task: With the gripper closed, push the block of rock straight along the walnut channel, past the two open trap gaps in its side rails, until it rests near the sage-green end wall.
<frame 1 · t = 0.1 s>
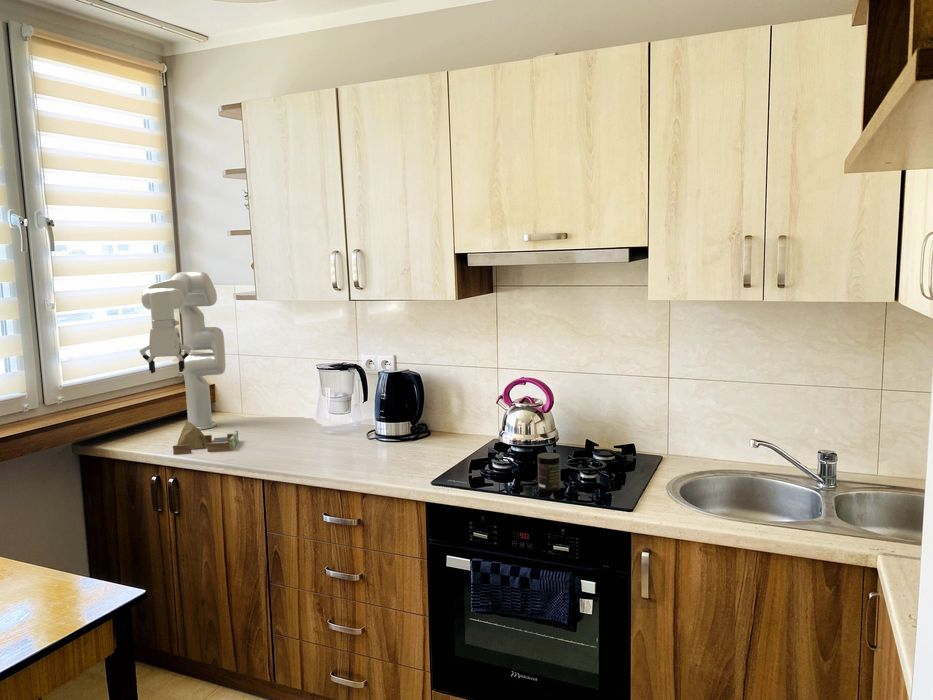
hand: (167, 372, 255), 31 cm above the worktop, tool pointing down, fingers open, 9 cm apart
rock: (193, 448, 270), on the worktop
supplement container: (549, 489, 214), on the worktop
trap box: (205, 447, 270), on the worktop
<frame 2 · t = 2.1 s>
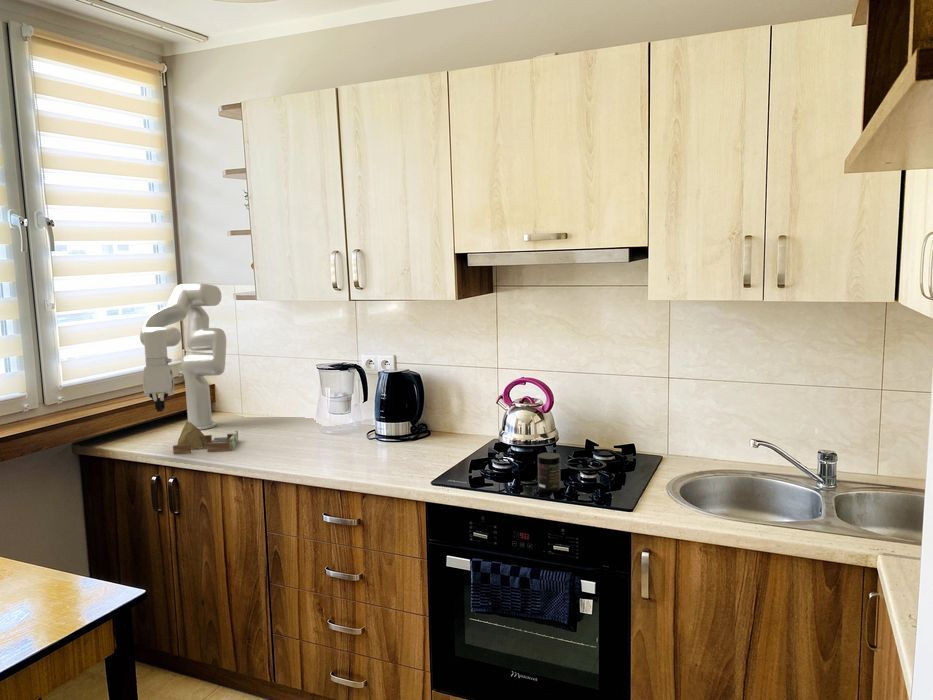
hand: (160, 410, 265), 15 cm above the worktop, tool pointing down, fingers closed
nothing on the worktop moved.
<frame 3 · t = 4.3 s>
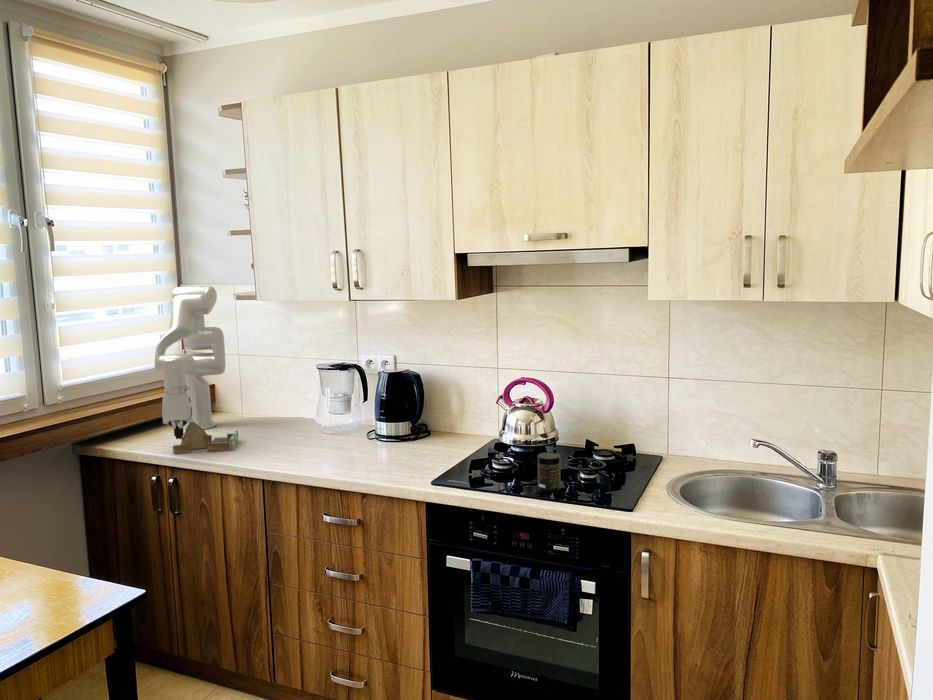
hand: (179, 438, 268), 4 cm above the worktop, tool pointing down, fingers closed
rock: (197, 448, 270), on the worktop, touching gripper
everything else where it was.
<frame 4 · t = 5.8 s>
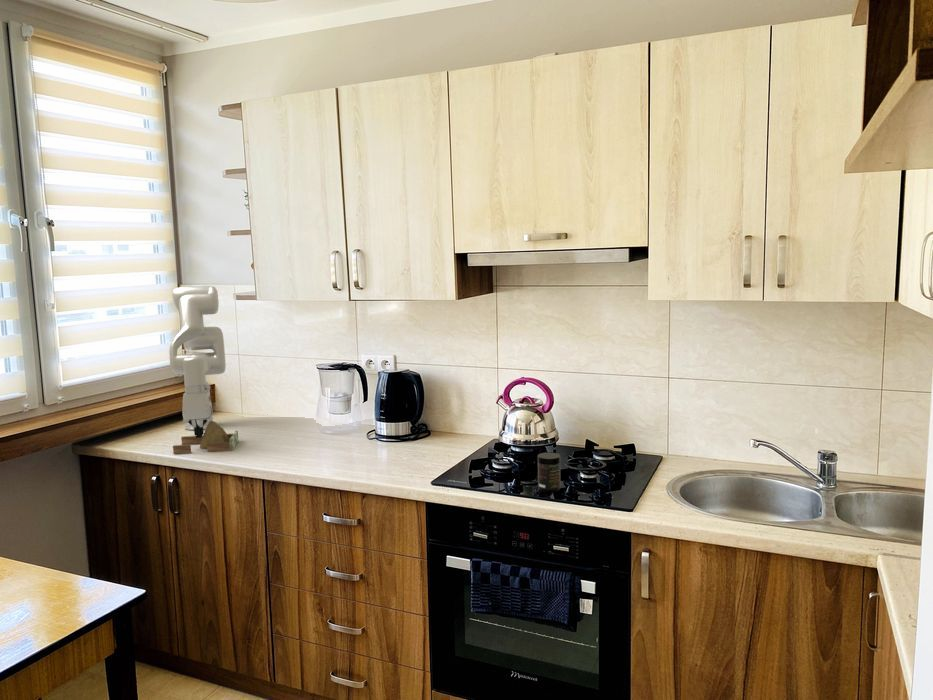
hand: (199, 436, 269), 4 cm above the worktop, tool pointing down, fingers closed
rock: (216, 447, 270), on the worktop
everything else where it was.
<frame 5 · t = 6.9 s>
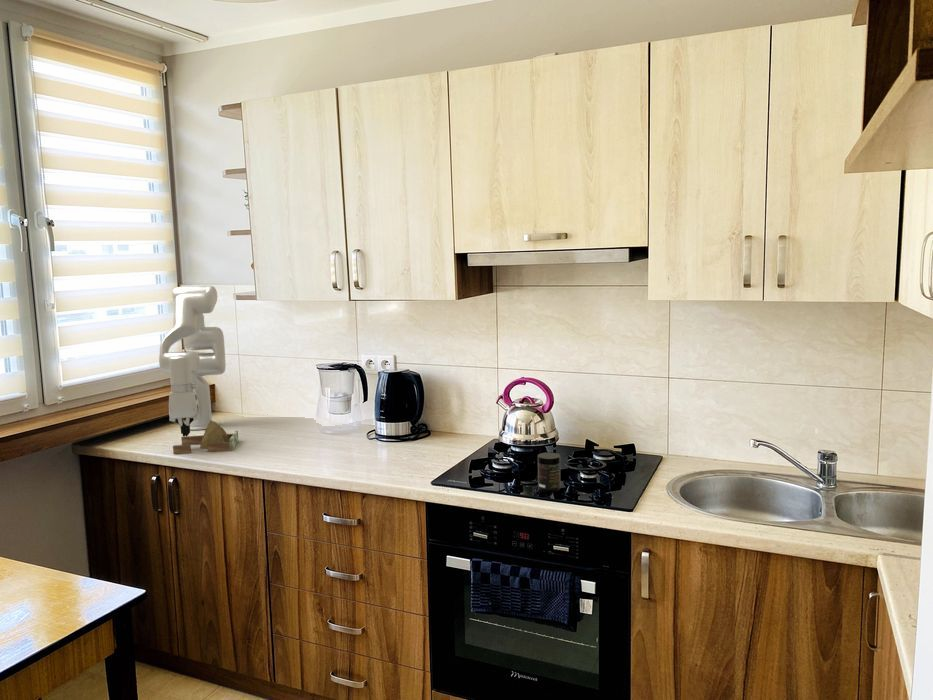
hand: (185, 435, 269), 5 cm above the worktop, tool pointing down, fingers closed
nothing on the worktop moved.
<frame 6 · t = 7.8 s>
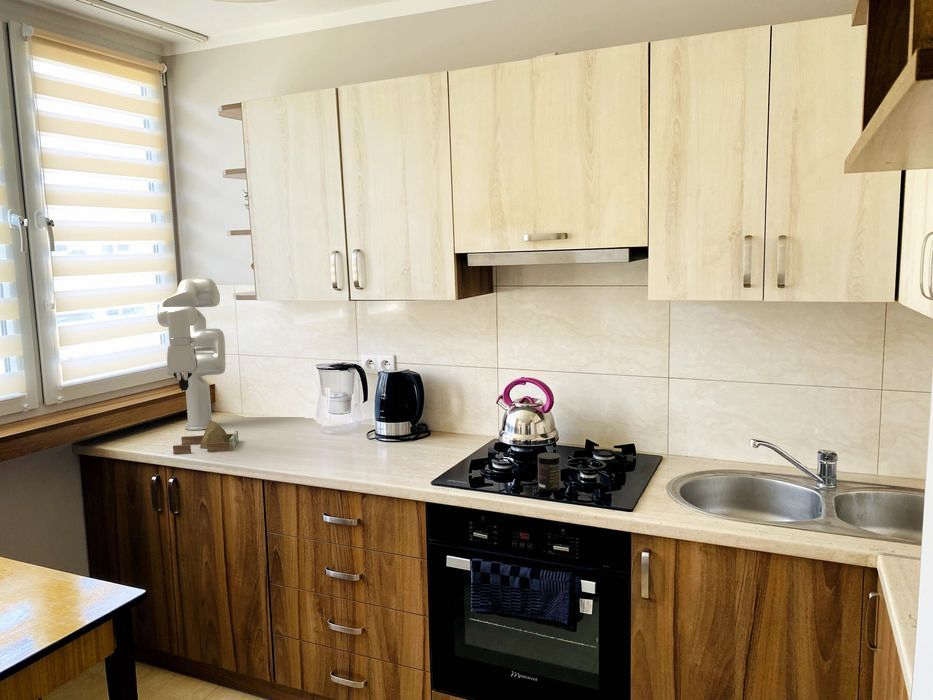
hand: (184, 390, 267), 22 cm above the worktop, tool pointing down, fingers closed
nothing on the worktop moved.
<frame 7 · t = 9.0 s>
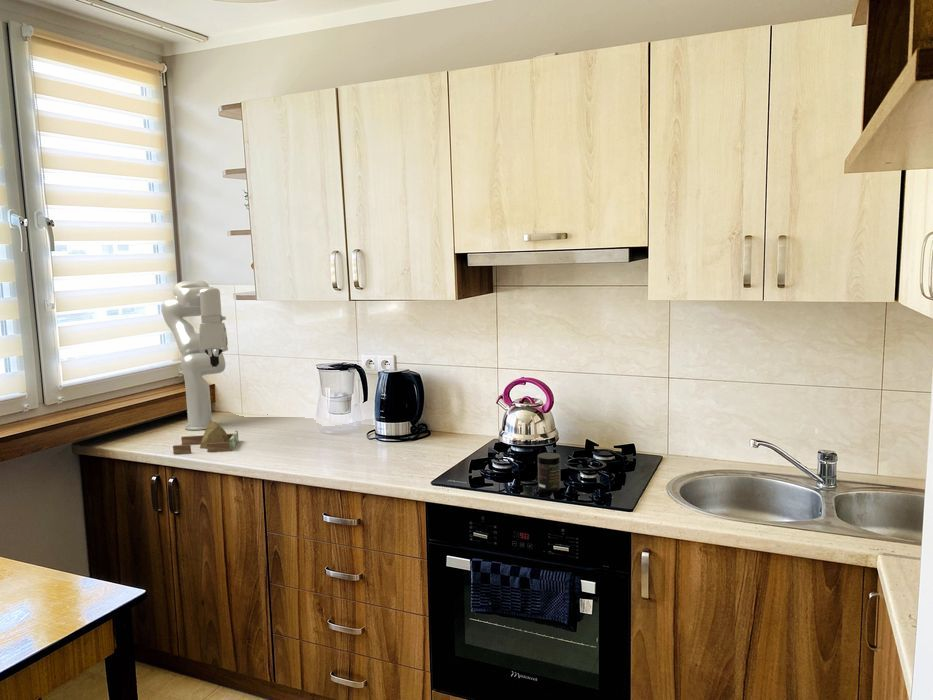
hand: (215, 366, 280), 29 cm above the worktop, tool pointing down, fingers closed
nothing on the worktop moved.
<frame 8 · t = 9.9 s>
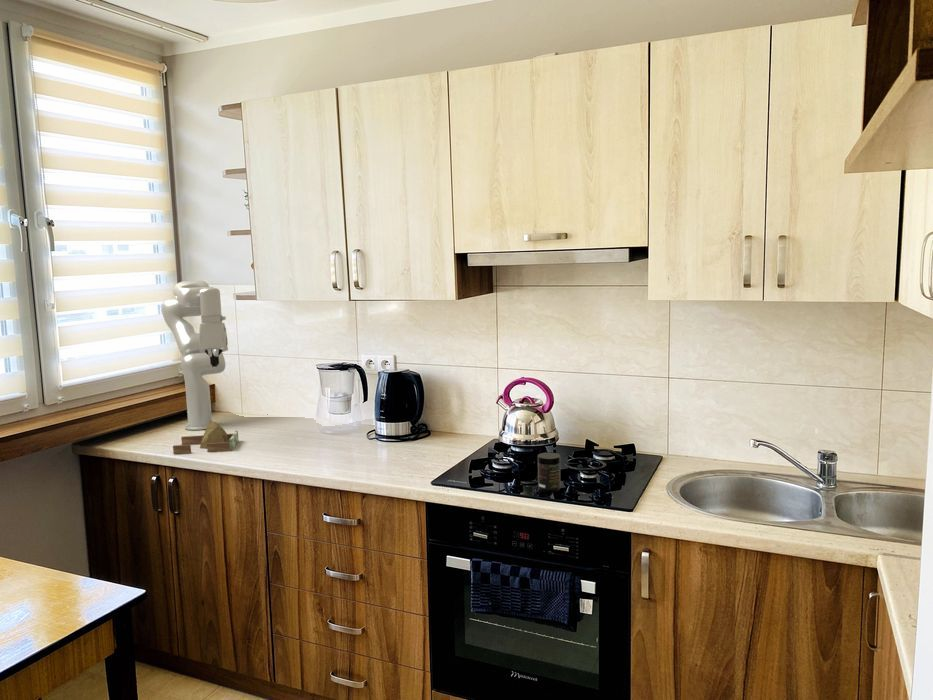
hand: (215, 366, 280), 29 cm above the worktop, tool pointing down, fingers closed
nothing on the worktop moved.
at the end: rock inside the target area on the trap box (1.6 cm from its centre), point 0.0 cm above the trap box's base; rock moved 8.6 cm from its start; rock tilted 0° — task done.
